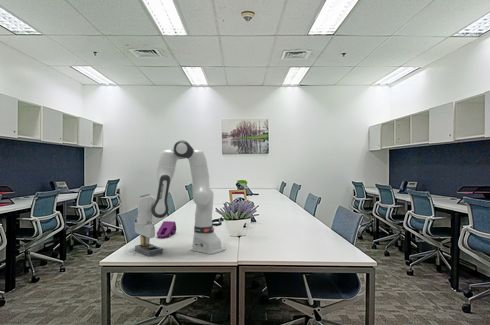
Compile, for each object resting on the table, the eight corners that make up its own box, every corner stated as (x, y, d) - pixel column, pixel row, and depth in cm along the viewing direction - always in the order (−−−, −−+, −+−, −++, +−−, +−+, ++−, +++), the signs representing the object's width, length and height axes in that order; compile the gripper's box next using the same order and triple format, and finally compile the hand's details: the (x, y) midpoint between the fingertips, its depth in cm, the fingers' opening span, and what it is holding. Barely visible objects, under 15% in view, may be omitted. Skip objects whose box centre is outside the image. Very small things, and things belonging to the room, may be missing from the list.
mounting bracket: (169, 245, 225) (176, 230, 241) (167, 236, 221) (175, 221, 237) (156, 245, 226) (165, 229, 242) (154, 236, 223) (163, 221, 239)
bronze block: (149, 248, 192) (149, 236, 192) (143, 250, 190) (143, 237, 190) (146, 247, 195) (146, 235, 195) (140, 248, 193) (140, 236, 192)
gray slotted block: (162, 253, 186) (162, 248, 186) (148, 256, 180) (148, 251, 180) (148, 247, 199) (148, 242, 199) (134, 250, 192) (134, 245, 192)
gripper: (157, 222, 187) (157, 244, 187) (142, 217, 202) (142, 238, 202) (148, 223, 183) (148, 246, 183) (133, 219, 197) (133, 240, 197)
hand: (145, 242), depth 193 cm, fingers closed on bronze block, 4 cm apart
